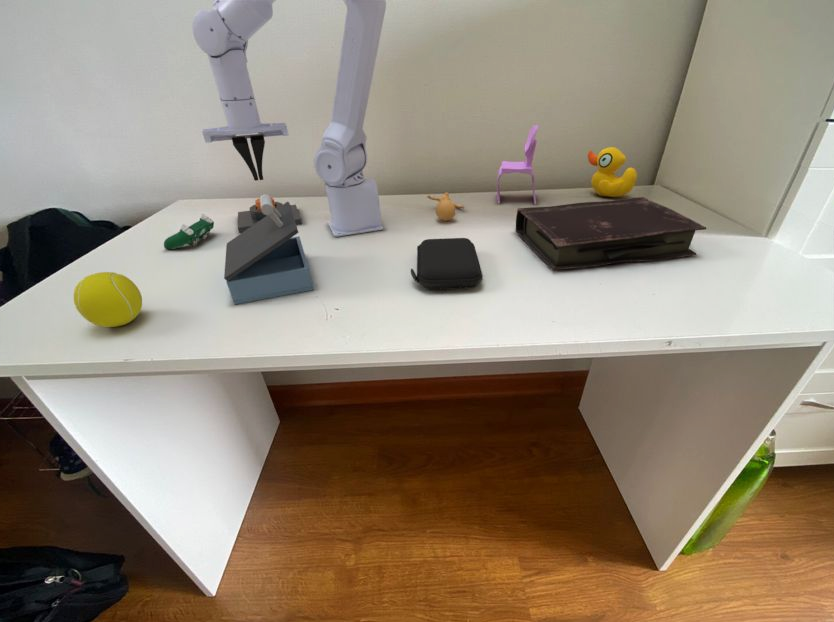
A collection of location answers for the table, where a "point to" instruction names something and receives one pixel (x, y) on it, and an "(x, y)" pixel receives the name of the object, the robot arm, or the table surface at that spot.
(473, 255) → the carrying case
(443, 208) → the figurine
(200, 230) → the green toy race car
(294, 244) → the lidded storage box
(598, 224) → the diary
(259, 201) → the button
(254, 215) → the control block
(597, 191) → the duckling
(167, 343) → the table surface
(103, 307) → the tennis ball
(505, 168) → the toy chair
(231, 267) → the lid
